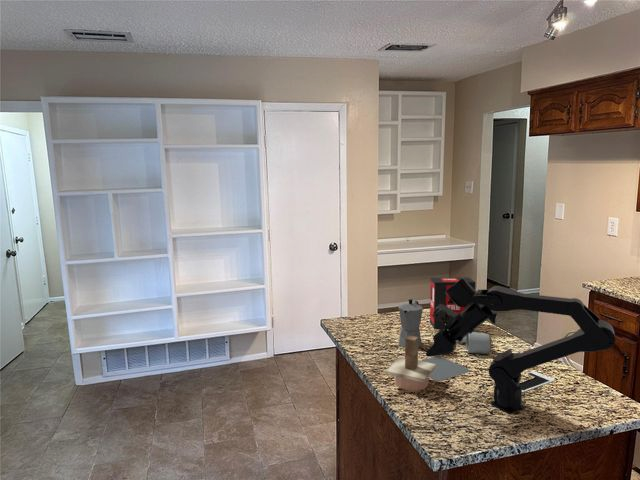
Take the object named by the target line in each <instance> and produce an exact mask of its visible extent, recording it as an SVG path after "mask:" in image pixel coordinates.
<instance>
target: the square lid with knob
mask: <svg viewBox="0 0 640 480" xmlns="http://www.w3.org/2000/svg"><path fill="white" fill-rule="evenodd" d="M404 352H405V353H404V357H403V356H402V357H401V356H399V357H398V358H397V359H396V360H395V361H394V362H393V363H392V364H391V365H390V366H389V367H388V368H387V369H386V370H385V375H388V376H393V377H394V376H397V377H401V378H406V379H411V380H415V381H420V382H424V383H425V381H426V380H427V379H428V380H429V378H430V377H429V376H430V375H431V373H432V372H433V371H434V370H435V368H436V364H433V363H428V362H423V361H421V360H419V347H418V337H415V336H408V337H406V338H405V347H404Z"/></svg>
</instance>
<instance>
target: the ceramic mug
mask: <svg viewBox="0 0 640 480" xmlns="http://www.w3.org/2000/svg"><path fill="white" fill-rule="evenodd" d="M492 339H493V338H492V336H491V335H490V334H488V333H484V332H483V333H482V332H477V331H473V332H472V333H471V334H468V335H467V336H466V342H465V350H466V351H467V352H466V353H467V354H481V355H488V354H489V355H490V353H492V348H493V347H492V345H493V343H492Z"/></svg>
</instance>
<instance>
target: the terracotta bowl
mask: <svg viewBox="0 0 640 480" xmlns="http://www.w3.org/2000/svg"><path fill="white" fill-rule="evenodd" d="M393 377H394V379H393V380H394V384H395V386H396V387H398V388H399V389H401V390H405V391H411V392H413V391H422V390H425V389H426V388H427V387H428V386H429V378H428V379H427V380H426V381H425V383H424V382H420V381H415V380H411V379H406V378H401V377H397V376H393Z"/></svg>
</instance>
